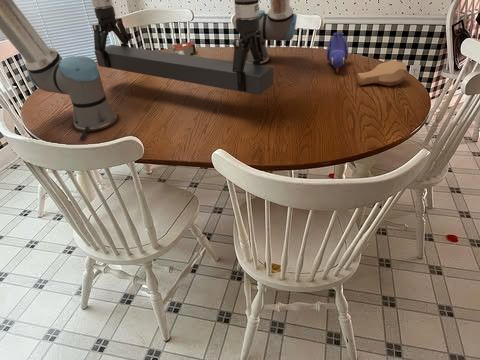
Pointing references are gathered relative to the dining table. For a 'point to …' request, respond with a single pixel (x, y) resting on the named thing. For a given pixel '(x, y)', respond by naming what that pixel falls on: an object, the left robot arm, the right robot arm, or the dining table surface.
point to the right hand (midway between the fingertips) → (249, 84)
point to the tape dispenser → (184, 48)
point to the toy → (337, 50)
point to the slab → (187, 68)
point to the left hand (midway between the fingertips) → (117, 62)
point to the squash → (384, 74)
